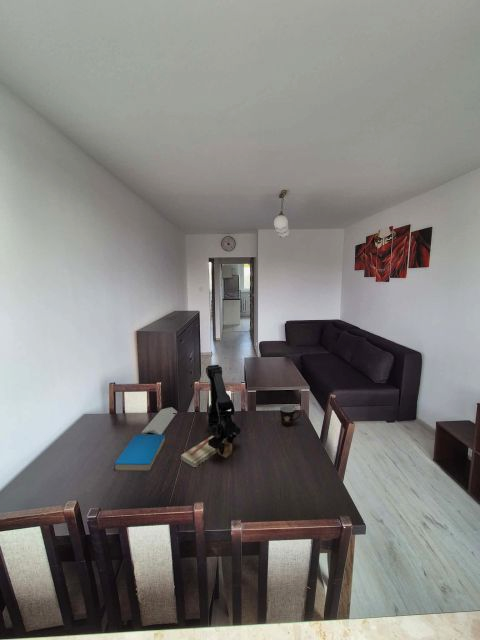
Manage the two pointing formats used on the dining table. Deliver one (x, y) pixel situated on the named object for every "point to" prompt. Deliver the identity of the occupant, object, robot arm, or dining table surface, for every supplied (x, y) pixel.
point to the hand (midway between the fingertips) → (225, 451)
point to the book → (140, 452)
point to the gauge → (226, 449)
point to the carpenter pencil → (199, 447)
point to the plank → (199, 454)
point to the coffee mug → (287, 415)
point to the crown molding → (160, 421)
